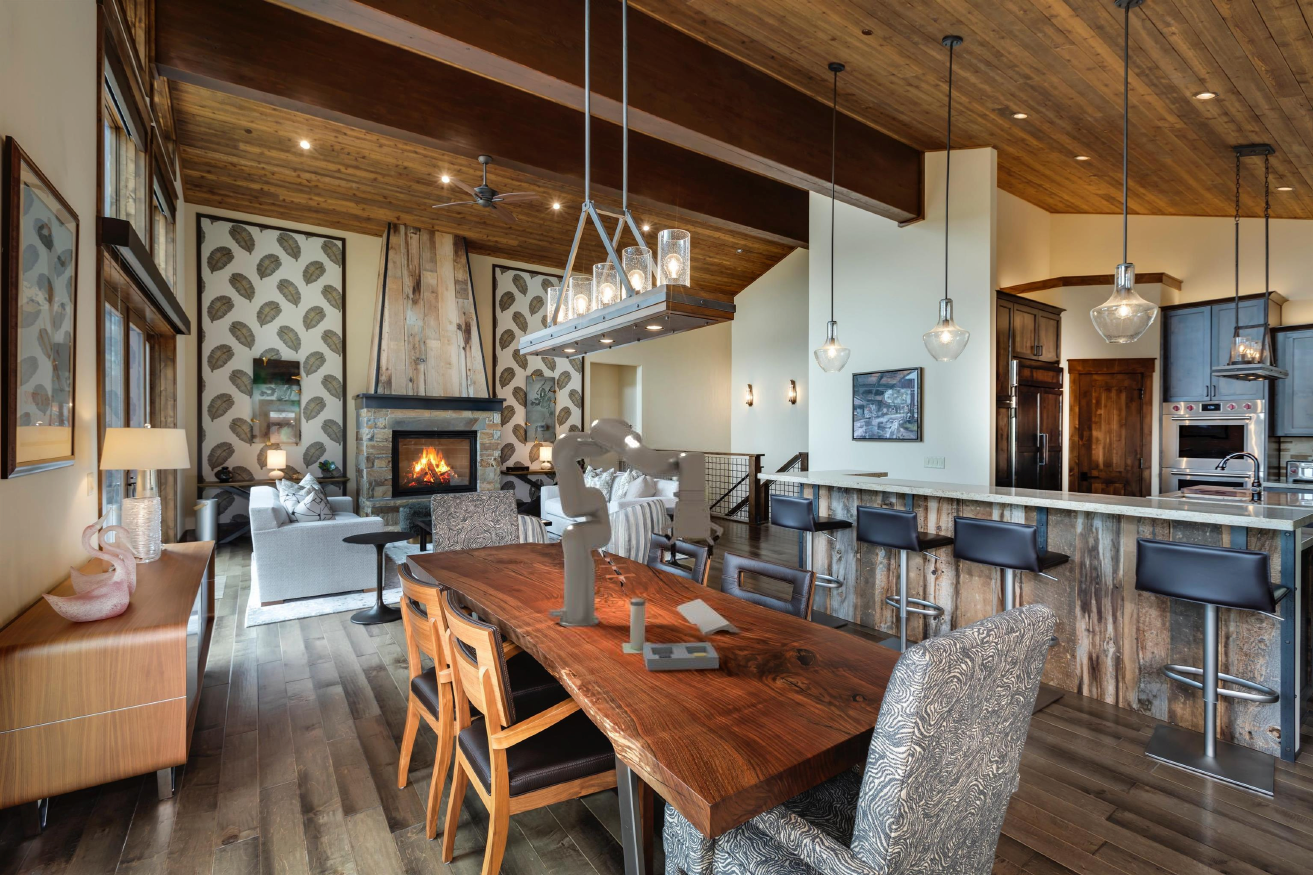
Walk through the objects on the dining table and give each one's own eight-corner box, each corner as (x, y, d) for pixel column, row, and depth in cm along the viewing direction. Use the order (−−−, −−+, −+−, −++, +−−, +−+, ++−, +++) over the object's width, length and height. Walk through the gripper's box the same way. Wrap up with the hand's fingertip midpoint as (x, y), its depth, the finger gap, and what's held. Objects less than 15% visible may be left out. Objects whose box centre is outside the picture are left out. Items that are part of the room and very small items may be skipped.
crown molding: (676, 610, 214) (676, 599, 214) (709, 608, 217) (710, 597, 217) (703, 637, 186) (704, 625, 186) (742, 634, 189) (742, 622, 189)
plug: (630, 650, 168) (630, 602, 168) (629, 645, 173) (629, 598, 172) (645, 649, 169) (646, 601, 169) (644, 644, 173) (644, 597, 173)
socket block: (647, 674, 154) (647, 657, 154) (642, 659, 165) (643, 642, 165) (718, 672, 156) (718, 655, 156) (709, 657, 167) (709, 641, 167)
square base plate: (623, 657, 166) (623, 653, 166) (621, 647, 174) (621, 643, 174) (653, 656, 167) (653, 652, 167) (650, 646, 175) (650, 642, 175)
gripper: (659, 497, 170) (659, 560, 170) (723, 498, 168) (723, 561, 168) (662, 494, 178) (662, 555, 177) (723, 495, 176) (723, 556, 176)
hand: (691, 558), depth 173 cm, fingers open, 9 cm apart
